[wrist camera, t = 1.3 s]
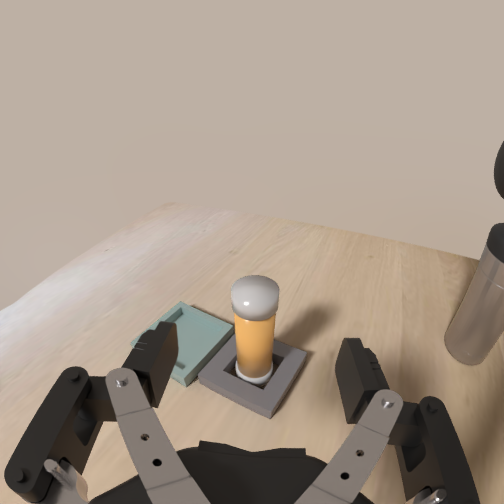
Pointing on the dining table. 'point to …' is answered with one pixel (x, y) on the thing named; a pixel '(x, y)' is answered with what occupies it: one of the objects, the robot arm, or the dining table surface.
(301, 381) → the dining table surface
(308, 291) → the dining table surface
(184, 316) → the parts tray
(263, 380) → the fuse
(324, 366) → the dining table surface
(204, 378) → the frame
